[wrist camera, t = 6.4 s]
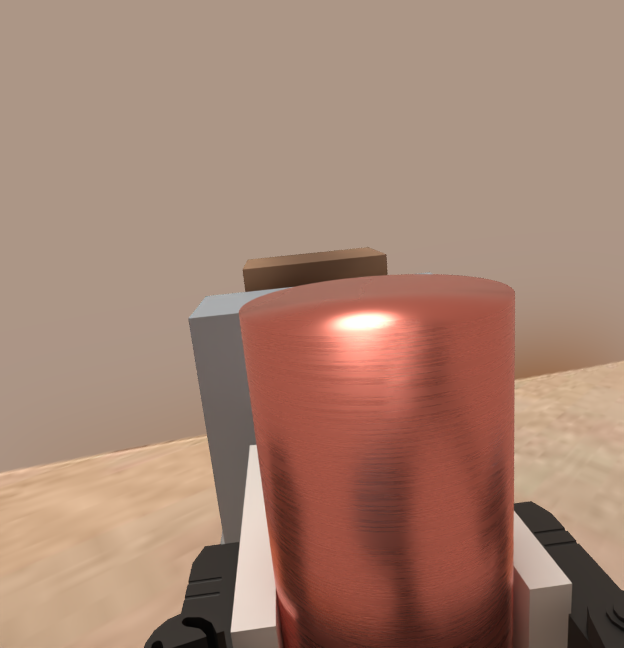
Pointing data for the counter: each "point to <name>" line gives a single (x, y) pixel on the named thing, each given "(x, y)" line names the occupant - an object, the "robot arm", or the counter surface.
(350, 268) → the bar
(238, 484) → the grey holder stand
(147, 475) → the counter surface
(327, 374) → the shaft
